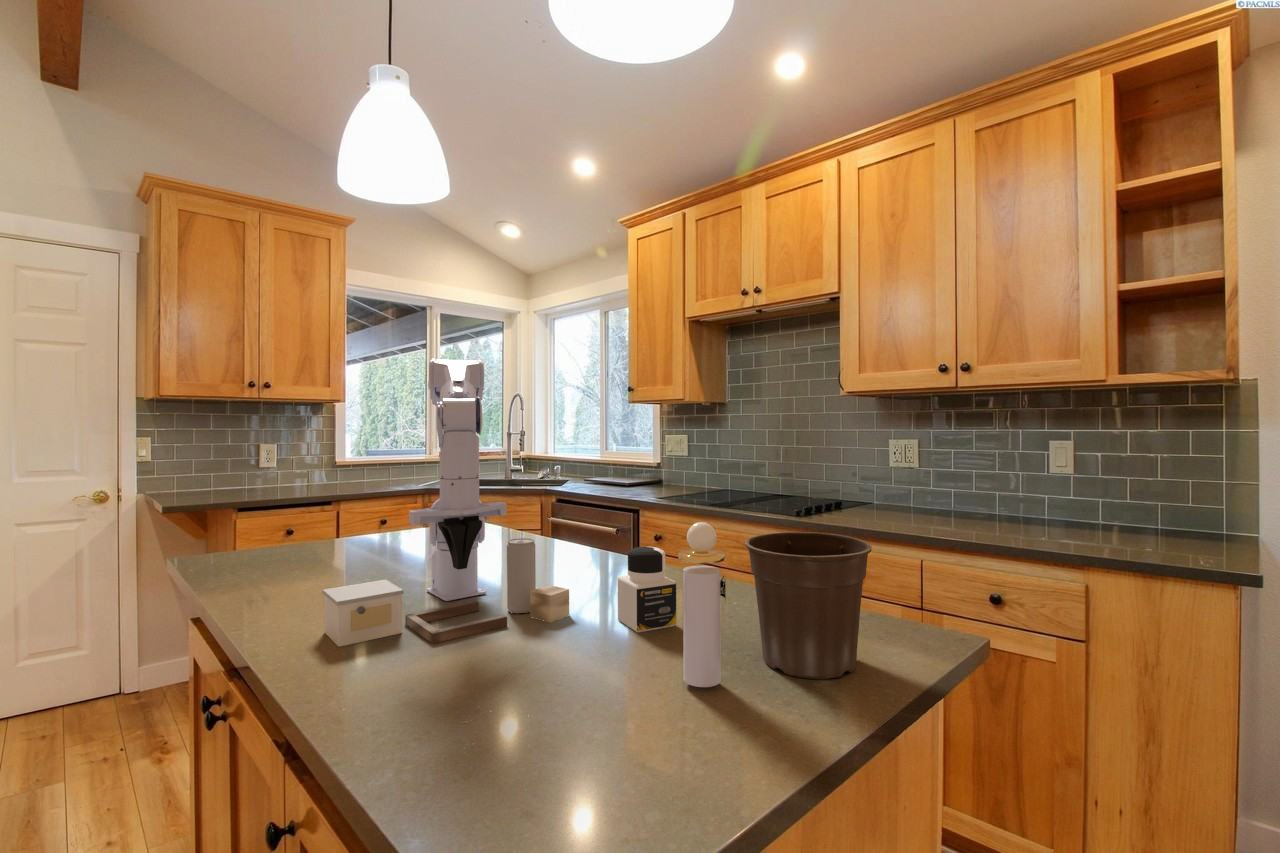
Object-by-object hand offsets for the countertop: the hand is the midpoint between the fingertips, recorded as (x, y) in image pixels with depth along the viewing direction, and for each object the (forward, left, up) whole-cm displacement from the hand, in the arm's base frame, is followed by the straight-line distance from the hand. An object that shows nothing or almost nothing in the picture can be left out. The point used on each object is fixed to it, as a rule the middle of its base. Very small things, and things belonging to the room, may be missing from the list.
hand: (460, 567), depth 92 cm
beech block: (+1, +15, -10) cm, 19 cm away
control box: (-11, -11, -10) cm, 19 cm away
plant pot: (+40, +31, -11) cm, 52 cm away
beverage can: (-5, +13, -11) cm, 18 cm away
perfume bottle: (+36, +15, -11) cm, 40 cm away
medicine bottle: (+14, +25, -11) cm, 31 cm away
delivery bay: (-5, +1, -10) cm, 12 cm away
